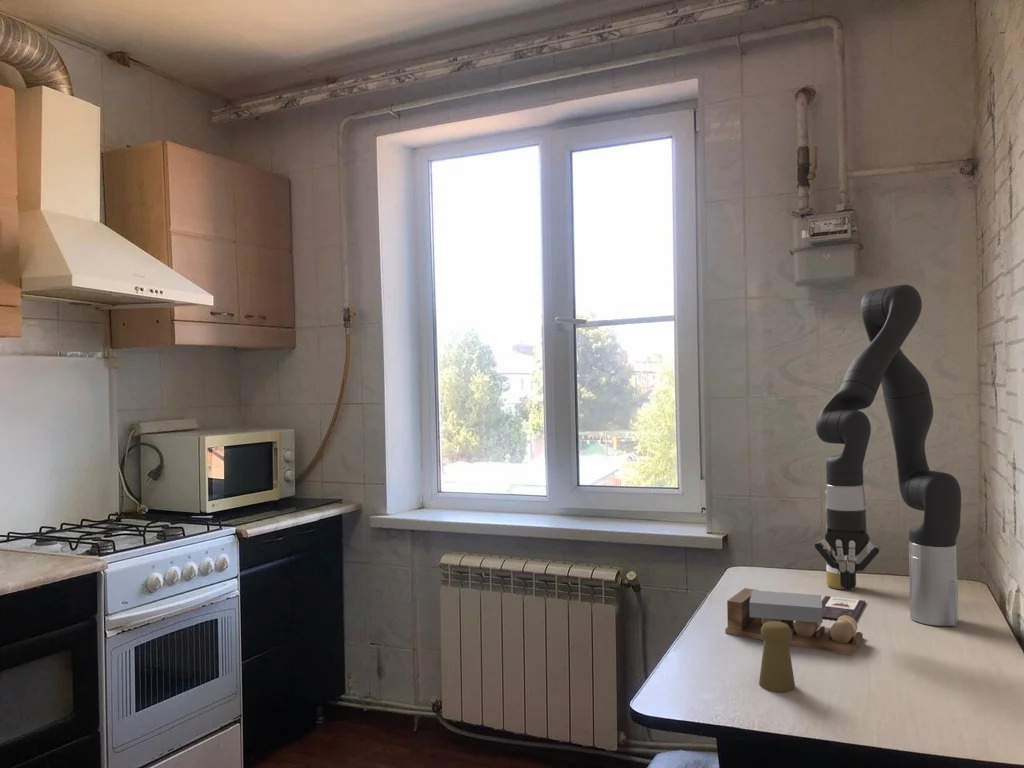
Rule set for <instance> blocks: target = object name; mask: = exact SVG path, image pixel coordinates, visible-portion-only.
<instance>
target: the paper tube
mask: <svg viewBox="0 0 1024 768" xmlns="http://www.w3.org/2000/svg"><path fill="white" fill-rule="evenodd" d="M824 491H825V493H824V495H825V497H824V498H825V500H824V501H825V503H824V504H826V489H825V490H824ZM826 532H827V514H826V513H825V533H826ZM827 544H828V543H827ZM828 546H829V547H828V550H829V551H830V553H831V554H832V555H833V556H834V557H835V559H836V560H837V561H838V556H837V553H835V552H834V550H833V549H832V548H831V546H830V545H829V544H828ZM848 558H849V555H847V566H849V561H848ZM838 562H839V561H838ZM825 565H826V585H827V586H828V587H829V588H832V589H835V590H844V587H841V584H840V571H839V570H837V569H835V568H831V566H830V565H829V564H828V563H827V562H826V561H825ZM847 570H848V568H847ZM844 591H845V590H844Z"/></svg>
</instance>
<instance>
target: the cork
mask: <svg viewBox="0 0 1024 768" xmlns="http://www.w3.org/2000/svg"><path fill="white" fill-rule="evenodd" d="M761 636H762V639H763V640H762V639H761V640H762V641H763V648H762V655H761V656H762V658H761V665H760V673H759V679H758V680H759V683H758V685H759V687H761V688H762V689H764V690H766V691H770V692H773V693H789V692H793V691H794V690H796V684H795V677H794V670H793V664H792V663H793V662H792V656H791V651H790V644H789V642H790V641H791V639H792V631H791V628H790V627H789V626H788V625H787V624H785V623H782V622H776V621H770V622H766V623H764V624H763V626H762V627H761Z"/></svg>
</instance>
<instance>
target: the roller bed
mask: <svg viewBox="0 0 1024 768" xmlns="http://www.w3.org/2000/svg"><path fill="white" fill-rule="evenodd" d="M752 590H757V591H759V589H753V588H748V587H747V588H746V587H744V588H743V589H741V590H740V591H739V592H737V593H735V594H734V595H733V596H732V597H730V598H729V599H728V600H726V601H727V603H726V604H727V605H726V607H727V609H726V610H727V613H726V614H727V616H726V617H727V626H726V627H725V628H724V630H725V631H724V632H725V634H729V635H733V636H739V637H746V638H752V639H756V640H762V641H764V640H763V639H762V636H761V627H762V623H761V619H762V618H757V617H750V610H749V602H750V598H751V594H752ZM784 623H785V624H787V625H788V626H789V627H790V628H791V631H792V639H791V641H790V642H789V646H790V645H791V646H797V647H802V646H803V648H807V647H809V648H808V649H814V650H820V651H826V652H832V653H836V654H843V655H849V656H852V655H853V654H854V652H855V650H856V649H857V647H859V646H858V645H860V643H861V641H862V640H863V639H864V638H863V637H864V636H863V635H864V634H863V632H860V631H857V630H858V623H857V620H856V621H855V620H854V619H853V618H852V617H850V616H847V615H843V616H841V617H839V618H838V619H837V621H835V622H834V623H833V625H832V626H831V627H826V626H823V625H822V623H816V622H804V621H792V620H785V621H784ZM821 625H822V626H821Z"/></svg>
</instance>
